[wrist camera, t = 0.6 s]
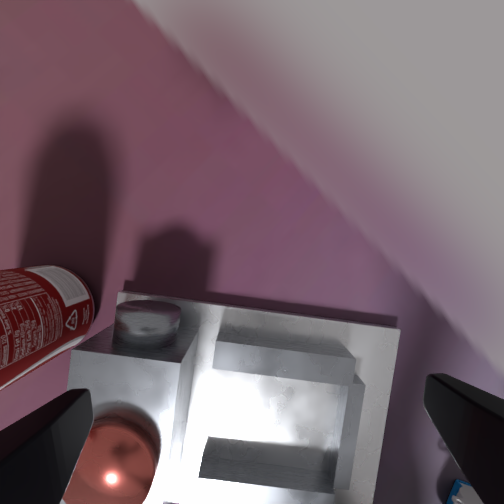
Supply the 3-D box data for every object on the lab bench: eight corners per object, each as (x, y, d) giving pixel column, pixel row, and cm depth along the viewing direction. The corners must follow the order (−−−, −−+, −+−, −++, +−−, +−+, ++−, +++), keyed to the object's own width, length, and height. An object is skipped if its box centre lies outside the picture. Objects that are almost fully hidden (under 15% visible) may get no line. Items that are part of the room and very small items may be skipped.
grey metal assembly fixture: (364, 515, 23) (424, 656, 15) (99, 483, 23) (20, 612, 15) (395, 326, 22) (474, 372, 15) (122, 290, 22) (53, 317, 14)
